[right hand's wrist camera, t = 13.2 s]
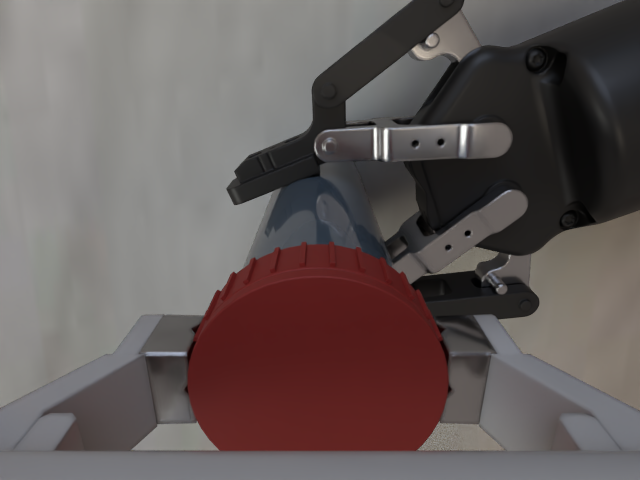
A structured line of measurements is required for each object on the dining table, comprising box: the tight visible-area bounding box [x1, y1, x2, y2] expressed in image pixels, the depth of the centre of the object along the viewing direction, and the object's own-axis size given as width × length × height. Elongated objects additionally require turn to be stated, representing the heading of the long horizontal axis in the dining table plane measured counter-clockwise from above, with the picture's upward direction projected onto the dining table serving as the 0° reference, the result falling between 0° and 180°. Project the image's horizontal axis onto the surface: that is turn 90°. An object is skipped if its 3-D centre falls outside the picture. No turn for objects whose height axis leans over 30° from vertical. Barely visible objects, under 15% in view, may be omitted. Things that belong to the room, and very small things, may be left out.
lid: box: [187, 242, 449, 451], centre depth 9 cm, size 5×5×2 cm
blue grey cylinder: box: [243, 161, 395, 269], centre depth 17 cm, size 5×5×16 cm
